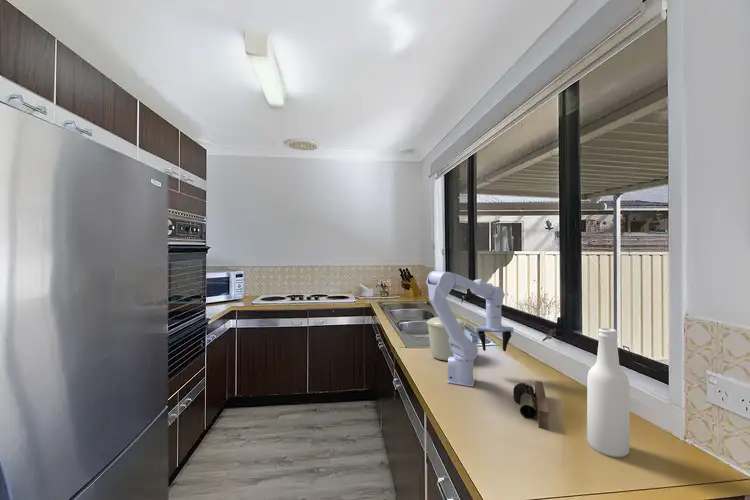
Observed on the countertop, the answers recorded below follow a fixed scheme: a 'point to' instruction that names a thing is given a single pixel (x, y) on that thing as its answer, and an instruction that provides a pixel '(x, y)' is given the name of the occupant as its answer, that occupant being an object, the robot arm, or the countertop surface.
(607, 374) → the alcohol
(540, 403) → the brown wooden plank
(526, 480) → the countertop surface
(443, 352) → the canister
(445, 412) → the countertop surface
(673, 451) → the countertop surface
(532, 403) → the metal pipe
